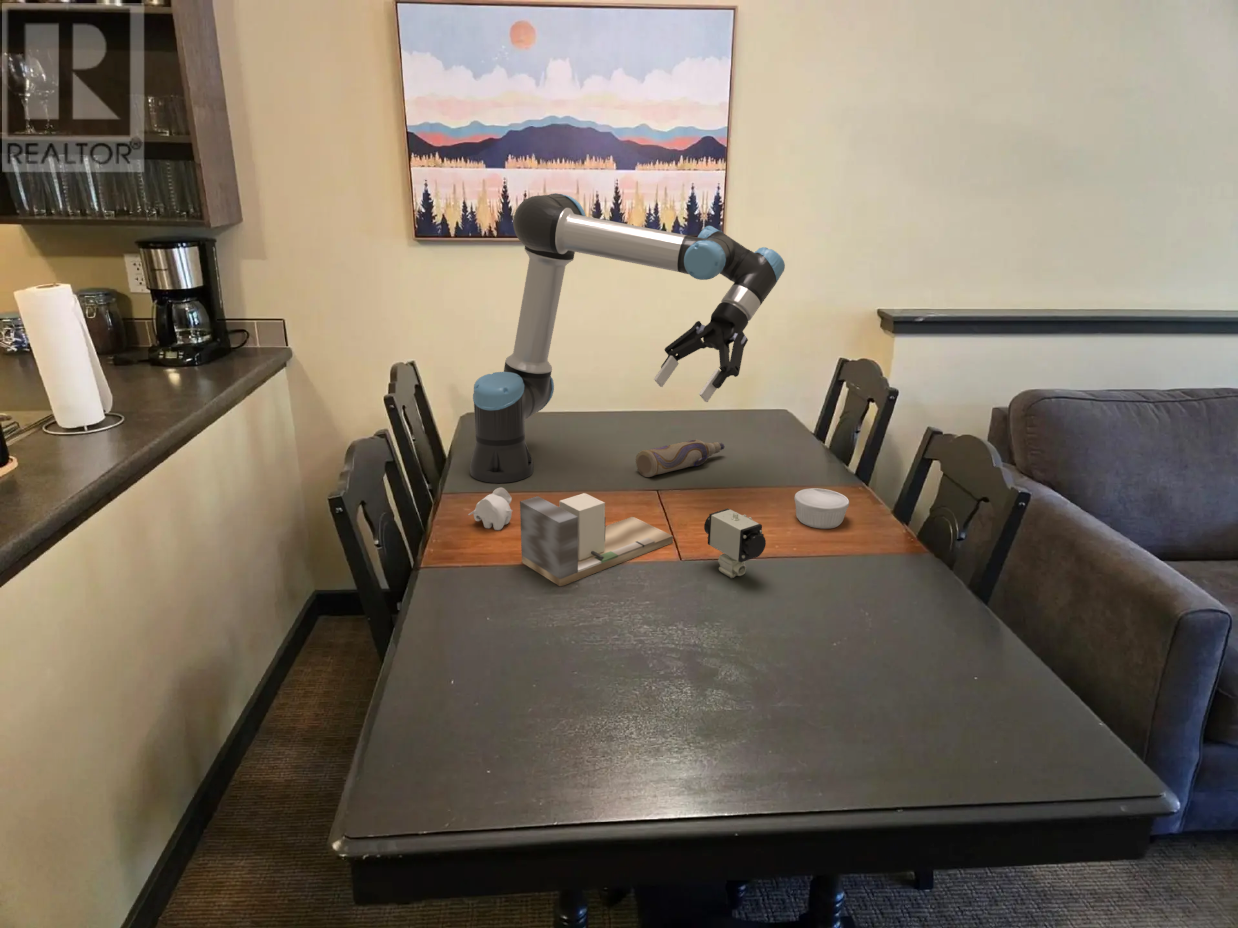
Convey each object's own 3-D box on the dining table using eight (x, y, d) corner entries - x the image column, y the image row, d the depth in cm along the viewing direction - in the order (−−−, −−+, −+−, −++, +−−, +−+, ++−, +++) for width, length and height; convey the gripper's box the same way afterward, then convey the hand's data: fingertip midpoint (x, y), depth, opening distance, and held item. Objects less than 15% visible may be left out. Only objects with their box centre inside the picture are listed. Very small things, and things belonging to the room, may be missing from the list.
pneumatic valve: (744, 589, 144) (749, 528, 140) (701, 563, 153) (704, 505, 149) (766, 580, 147) (771, 520, 143) (722, 556, 156) (726, 499, 152)
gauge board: (521, 562, 152) (519, 501, 148) (632, 522, 170) (633, 467, 165) (560, 586, 144) (559, 522, 139) (672, 542, 161) (675, 484, 157)
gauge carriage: (553, 551, 153) (552, 502, 149) (587, 539, 158) (587, 492, 154) (583, 568, 146) (583, 518, 143) (617, 555, 151) (617, 506, 148)
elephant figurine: (480, 513, 173) (479, 483, 170) (521, 520, 170) (520, 489, 167) (462, 528, 166) (460, 496, 164) (504, 535, 163) (503, 503, 161)
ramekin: (850, 515, 175) (853, 493, 173) (841, 535, 166) (844, 512, 164) (799, 506, 179) (801, 484, 178) (787, 525, 170) (789, 502, 168)
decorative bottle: (652, 482, 192) (653, 455, 189) (634, 472, 197) (634, 447, 195) (733, 461, 206) (735, 436, 203) (714, 453, 211) (715, 429, 209)
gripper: (787, 333, 167) (731, 415, 163) (701, 313, 184) (649, 387, 181) (773, 310, 162) (715, 394, 158) (685, 292, 179) (631, 367, 175)
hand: (679, 390), depth 169 cm, fingers open, 13 cm apart
